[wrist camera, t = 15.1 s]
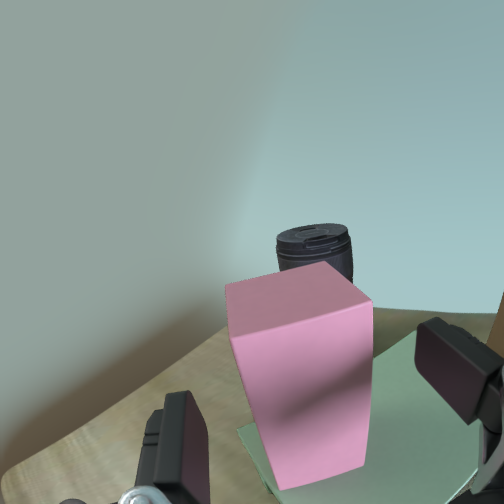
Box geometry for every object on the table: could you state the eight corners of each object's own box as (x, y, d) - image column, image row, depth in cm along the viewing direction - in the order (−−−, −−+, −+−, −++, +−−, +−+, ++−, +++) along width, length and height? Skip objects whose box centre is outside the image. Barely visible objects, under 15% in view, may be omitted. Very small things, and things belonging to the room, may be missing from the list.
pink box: (279, 491, 11) (228, 339, 8) (266, 432, 15) (224, 284, 12) (364, 465, 11) (373, 300, 8) (337, 412, 15) (324, 259, 13)
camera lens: (369, 353, 31) (363, 229, 27) (305, 376, 30) (285, 248, 26) (341, 323, 39) (330, 217, 35) (286, 341, 38) (266, 232, 34)
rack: (336, 588, 7) (341, 580, 5) (259, 482, 18) (235, 428, 16) (496, 452, 12) (533, 385, 10) (406, 395, 23) (414, 329, 21)
